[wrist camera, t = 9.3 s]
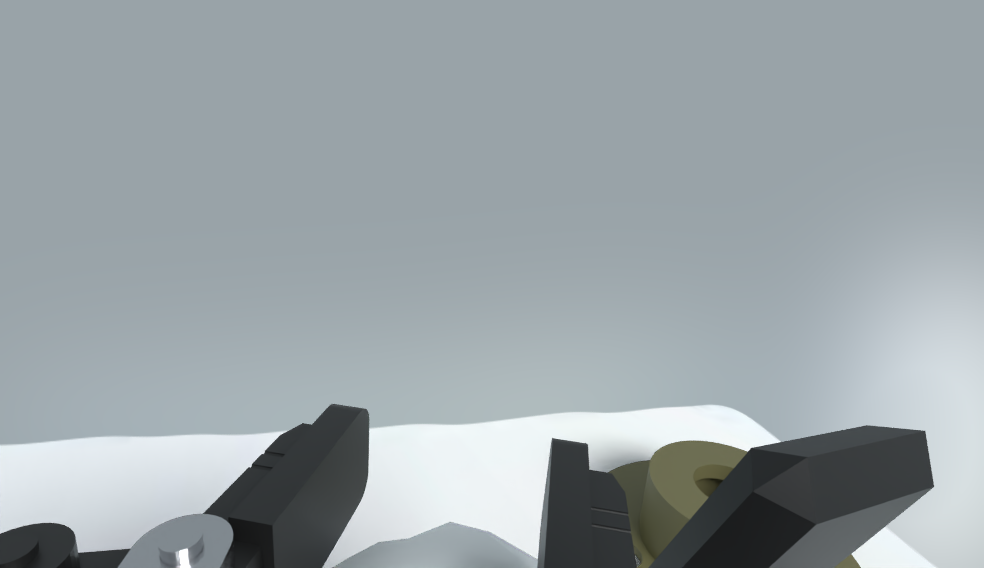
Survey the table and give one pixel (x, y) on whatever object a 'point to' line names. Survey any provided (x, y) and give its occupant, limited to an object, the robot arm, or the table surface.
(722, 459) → the flange
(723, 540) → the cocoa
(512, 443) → the table surface
